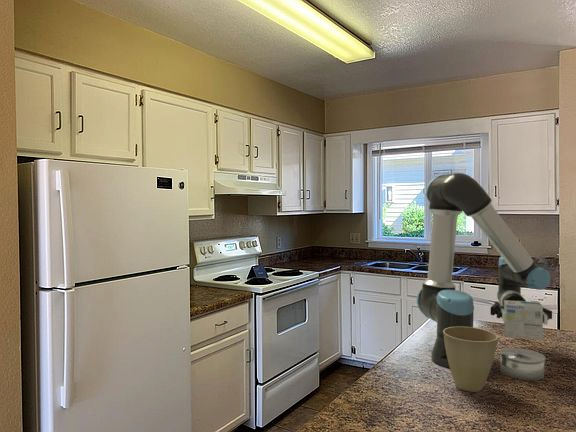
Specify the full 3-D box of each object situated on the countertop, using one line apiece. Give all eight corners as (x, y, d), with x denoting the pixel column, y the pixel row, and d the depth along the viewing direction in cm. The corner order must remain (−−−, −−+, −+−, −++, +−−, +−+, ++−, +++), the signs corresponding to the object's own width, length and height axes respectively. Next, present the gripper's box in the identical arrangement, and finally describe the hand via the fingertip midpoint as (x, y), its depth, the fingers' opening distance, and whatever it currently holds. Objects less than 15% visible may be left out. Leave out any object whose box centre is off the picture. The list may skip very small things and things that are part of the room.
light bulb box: (539, 334, 144) (540, 301, 143) (543, 340, 137) (544, 306, 137) (503, 331, 147) (503, 299, 147) (505, 337, 141) (505, 303, 141)
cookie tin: (512, 381, 136) (512, 361, 136) (491, 365, 149) (492, 347, 149) (554, 380, 136) (554, 361, 136) (530, 365, 149) (530, 347, 149)
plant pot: (464, 400, 123) (464, 343, 122) (432, 379, 137) (433, 328, 136) (509, 394, 126) (510, 338, 126) (474, 374, 141) (474, 324, 140)
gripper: (550, 316, 156) (568, 334, 135) (478, 311, 163) (484, 327, 142) (550, 294, 155) (568, 309, 135) (478, 291, 163) (484, 304, 142)
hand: (525, 319), depth 138 cm, fingers closed on light bulb box, 11 cm apart
